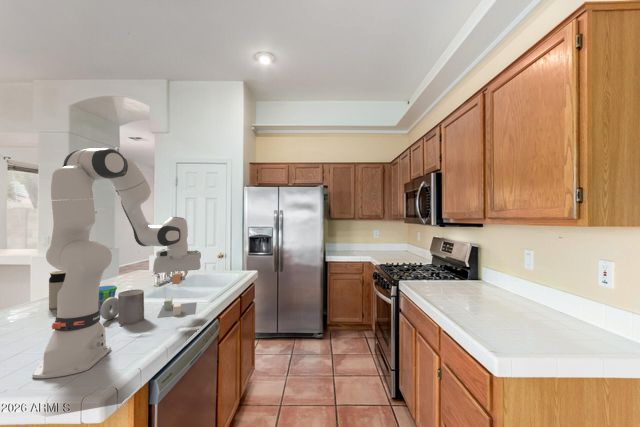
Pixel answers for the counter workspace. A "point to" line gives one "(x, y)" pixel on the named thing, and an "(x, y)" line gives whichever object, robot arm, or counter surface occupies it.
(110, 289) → the snack cup
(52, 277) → the travel mug
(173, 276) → the terracotta brick
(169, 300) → the sage brick
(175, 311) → the cream brick
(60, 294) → the robot arm
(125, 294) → the pillar candle
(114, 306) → the donut
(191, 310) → the baseplate
